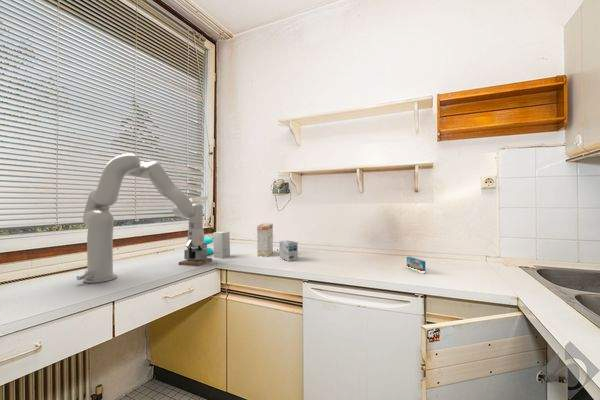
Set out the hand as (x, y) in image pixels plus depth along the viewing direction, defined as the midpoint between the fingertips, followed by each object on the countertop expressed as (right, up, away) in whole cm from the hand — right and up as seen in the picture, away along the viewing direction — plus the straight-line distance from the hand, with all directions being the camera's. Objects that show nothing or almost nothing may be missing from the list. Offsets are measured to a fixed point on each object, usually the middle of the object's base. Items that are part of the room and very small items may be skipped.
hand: (195, 257), depth 165 cm
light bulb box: (+52, -3, +9) cm, 53 cm away
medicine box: (-4, -3, +18) cm, 18 cm away
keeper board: (0, -3, 0) cm, 3 cm away
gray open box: (0, -1, 0) cm, 1 cm away
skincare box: (+10, -3, +16) cm, 19 cm away
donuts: (-3, -3, +27) cm, 27 cm away
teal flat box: (+117, -4, -18) cm, 119 cm away
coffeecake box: (+36, -3, +25) cm, 44 cm away
